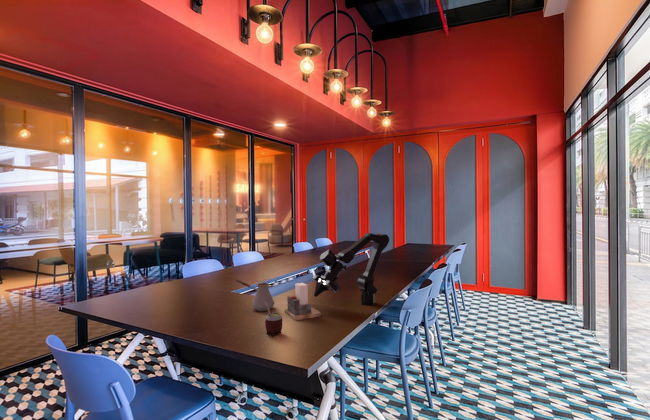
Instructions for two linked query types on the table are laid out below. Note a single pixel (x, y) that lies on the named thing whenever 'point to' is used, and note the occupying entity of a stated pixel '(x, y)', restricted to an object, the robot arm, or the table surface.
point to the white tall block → (301, 293)
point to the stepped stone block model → (300, 309)
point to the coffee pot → (261, 296)
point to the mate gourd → (273, 323)
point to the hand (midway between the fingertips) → (314, 296)
